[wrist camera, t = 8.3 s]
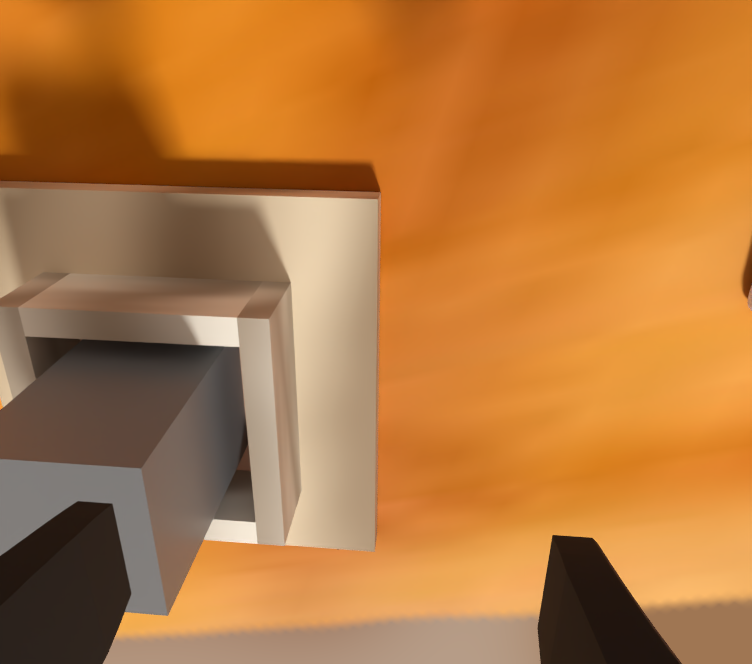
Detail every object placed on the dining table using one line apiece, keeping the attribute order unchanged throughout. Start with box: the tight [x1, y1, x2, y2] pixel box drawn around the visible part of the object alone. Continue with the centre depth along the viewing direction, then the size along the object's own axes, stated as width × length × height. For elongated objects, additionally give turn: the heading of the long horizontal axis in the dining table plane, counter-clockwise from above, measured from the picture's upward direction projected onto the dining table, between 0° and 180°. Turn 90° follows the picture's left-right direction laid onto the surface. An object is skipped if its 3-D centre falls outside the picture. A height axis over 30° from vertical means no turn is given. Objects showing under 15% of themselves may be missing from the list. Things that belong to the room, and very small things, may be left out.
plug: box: [0, 339, 248, 616], centre depth 16 cm, size 4×4×6 cm
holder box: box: [0, 181, 381, 552], centre depth 19 cm, size 12×12×3 cm
